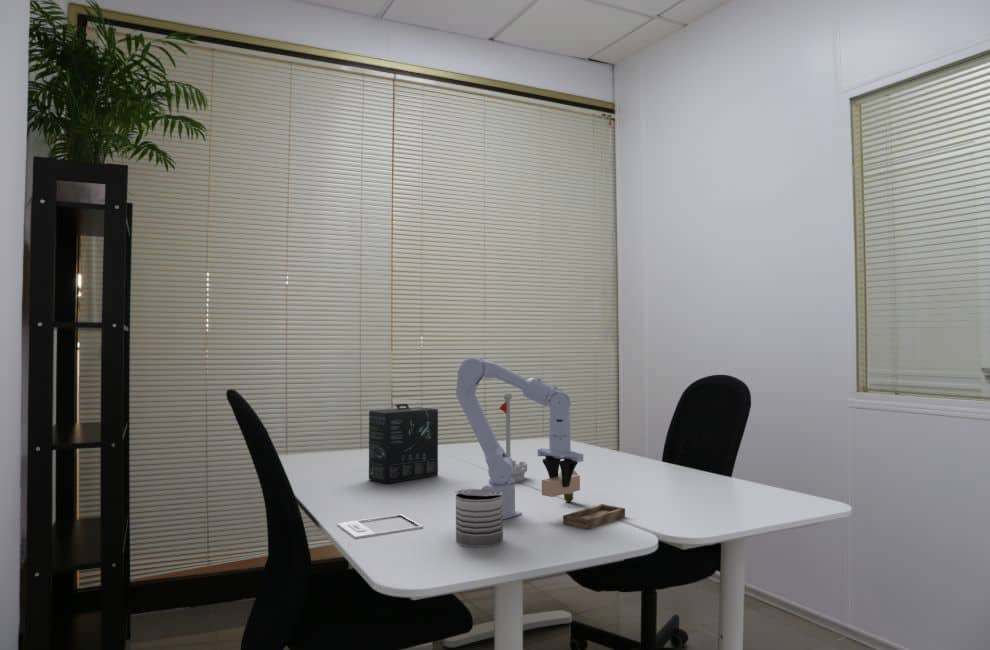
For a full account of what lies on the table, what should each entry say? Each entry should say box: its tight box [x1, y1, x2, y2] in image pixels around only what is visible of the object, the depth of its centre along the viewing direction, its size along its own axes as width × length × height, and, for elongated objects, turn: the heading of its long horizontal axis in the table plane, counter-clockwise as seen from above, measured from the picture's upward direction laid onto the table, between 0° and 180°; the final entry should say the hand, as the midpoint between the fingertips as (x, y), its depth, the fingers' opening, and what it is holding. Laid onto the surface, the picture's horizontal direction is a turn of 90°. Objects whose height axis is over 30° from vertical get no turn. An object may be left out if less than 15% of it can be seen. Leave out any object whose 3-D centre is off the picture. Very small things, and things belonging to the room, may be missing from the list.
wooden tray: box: [562, 503, 626, 530], centre depth 180 cm, size 17×8×2 cm, turn 135°
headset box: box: [368, 403, 439, 484], centre depth 241 cm, size 22×12×26 cm, turn 133°
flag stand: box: [498, 391, 528, 483], centre depth 236 cm, size 13×13×30 cm
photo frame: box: [336, 513, 424, 539], centre depth 176 cm, size 15×1×18 cm
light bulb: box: [558, 469, 579, 503], centre depth 201 cm, size 6×6×10 cm
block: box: [541, 474, 581, 498], centre depth 185 cm, size 12×4×4 cm, turn 135°
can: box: [454, 488, 504, 549], centre depth 163 cm, size 11×11×12 cm
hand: (560, 485), depth 185 cm, fingers closed on block, 3 cm apart
